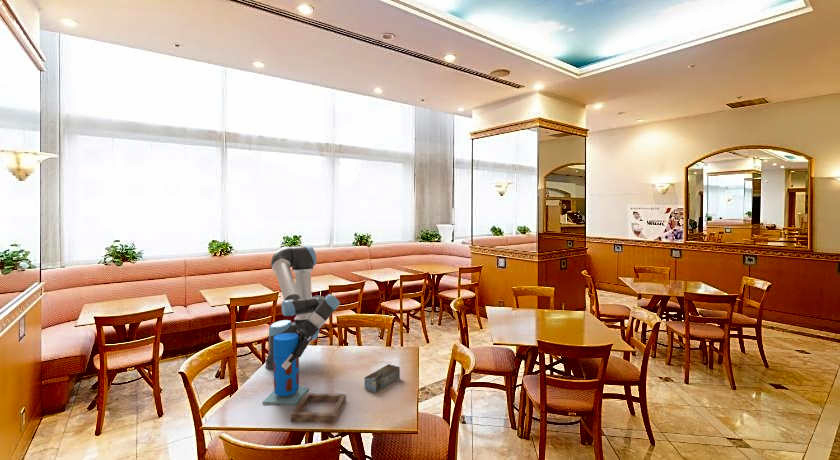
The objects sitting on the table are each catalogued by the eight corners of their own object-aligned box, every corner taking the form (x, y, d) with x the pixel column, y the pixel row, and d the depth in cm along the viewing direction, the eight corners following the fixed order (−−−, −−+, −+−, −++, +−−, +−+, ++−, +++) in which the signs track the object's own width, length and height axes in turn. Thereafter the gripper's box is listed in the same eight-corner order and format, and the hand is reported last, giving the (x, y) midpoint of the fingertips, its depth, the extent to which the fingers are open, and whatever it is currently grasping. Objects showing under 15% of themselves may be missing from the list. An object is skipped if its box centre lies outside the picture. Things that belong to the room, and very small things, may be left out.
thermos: (302, 385, 178) (302, 333, 176) (293, 396, 167) (292, 340, 166) (280, 384, 179) (280, 332, 178) (269, 395, 168) (268, 339, 167)
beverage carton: (363, 389, 181) (363, 375, 181) (388, 375, 197) (388, 362, 197) (376, 393, 177) (376, 379, 177) (400, 378, 193) (400, 366, 193)
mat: (262, 404, 166) (262, 401, 166) (277, 388, 181) (277, 386, 181) (296, 405, 165) (296, 403, 165) (308, 389, 180) (308, 387, 180)
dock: (290, 421, 153) (290, 414, 152) (306, 399, 171) (306, 392, 170) (334, 423, 152) (334, 415, 151) (346, 400, 170) (346, 394, 169)
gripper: (328, 334, 171) (293, 377, 163) (310, 322, 190) (278, 359, 182) (316, 325, 168) (281, 367, 160) (299, 313, 187) (267, 351, 178)
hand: (279, 363), depth 171 cm, fingers closed on thermos, 11 cm apart
